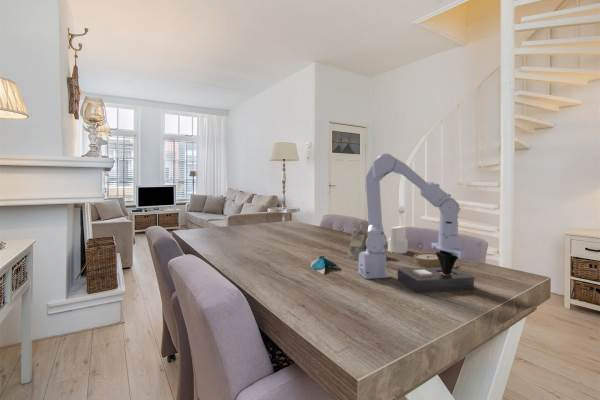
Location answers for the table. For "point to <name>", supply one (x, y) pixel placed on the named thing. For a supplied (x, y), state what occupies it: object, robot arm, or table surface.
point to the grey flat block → (435, 280)
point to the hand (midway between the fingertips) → (446, 274)
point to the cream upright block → (398, 240)
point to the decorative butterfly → (322, 264)
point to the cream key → (422, 273)
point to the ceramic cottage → (358, 243)
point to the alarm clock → (426, 259)
